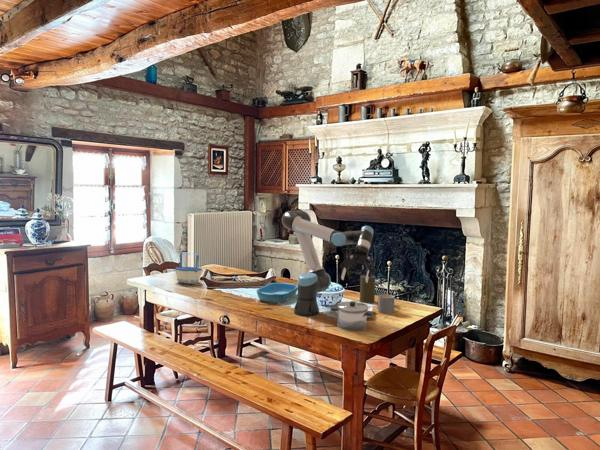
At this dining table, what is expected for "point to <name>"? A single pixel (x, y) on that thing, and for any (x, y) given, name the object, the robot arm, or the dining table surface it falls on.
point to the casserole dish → (277, 292)
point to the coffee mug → (386, 304)
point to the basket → (188, 272)
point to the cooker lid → (352, 306)
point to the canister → (367, 289)
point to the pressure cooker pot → (352, 319)
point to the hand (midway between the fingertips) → (354, 280)
